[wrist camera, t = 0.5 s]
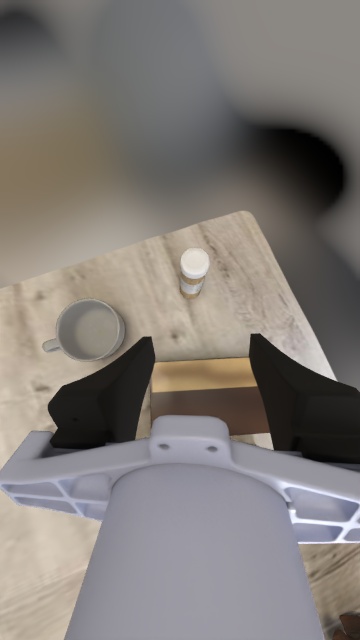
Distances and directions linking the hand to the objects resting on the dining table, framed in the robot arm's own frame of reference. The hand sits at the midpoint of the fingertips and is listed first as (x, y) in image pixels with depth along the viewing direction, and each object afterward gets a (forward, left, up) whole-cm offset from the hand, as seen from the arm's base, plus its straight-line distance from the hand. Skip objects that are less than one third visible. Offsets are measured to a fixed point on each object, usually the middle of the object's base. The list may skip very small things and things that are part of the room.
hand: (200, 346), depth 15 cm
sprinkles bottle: (+14, -2, -27) cm, 30 cm away
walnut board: (-8, -4, -27) cm, 28 cm away
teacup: (+5, +18, -27) cm, 33 cm away
